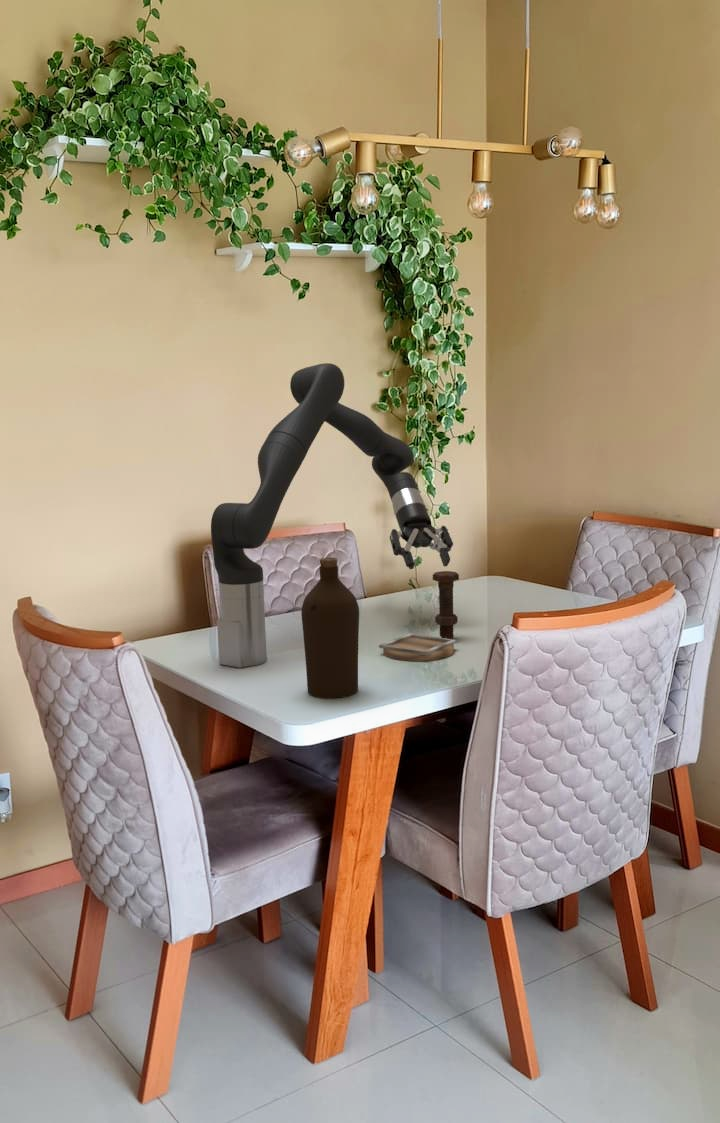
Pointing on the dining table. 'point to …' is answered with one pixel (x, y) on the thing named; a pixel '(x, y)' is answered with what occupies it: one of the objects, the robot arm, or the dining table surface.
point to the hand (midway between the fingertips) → (429, 565)
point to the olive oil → (331, 635)
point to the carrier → (418, 648)
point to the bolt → (446, 602)
